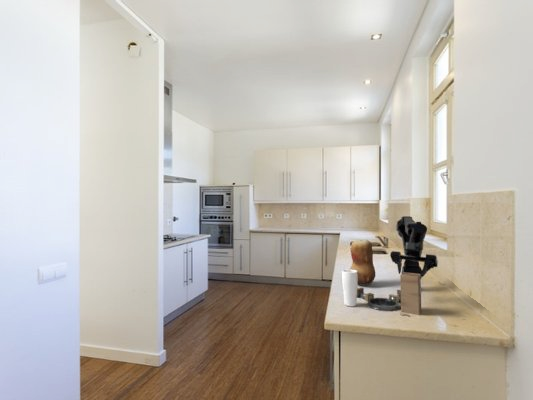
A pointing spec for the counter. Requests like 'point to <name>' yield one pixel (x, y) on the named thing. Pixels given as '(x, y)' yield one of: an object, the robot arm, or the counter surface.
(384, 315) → the counter surface
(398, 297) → the shaft
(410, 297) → the coupling post
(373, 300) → the dark grey shallow bowl
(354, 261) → the butternut squash
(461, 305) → the counter surface
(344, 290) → the drinking glass
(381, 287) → the counter surface
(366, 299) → the shaft
